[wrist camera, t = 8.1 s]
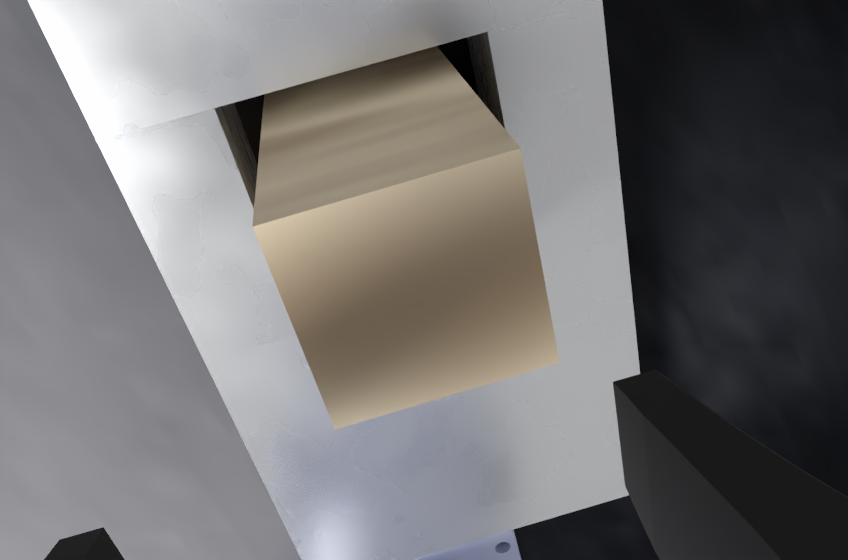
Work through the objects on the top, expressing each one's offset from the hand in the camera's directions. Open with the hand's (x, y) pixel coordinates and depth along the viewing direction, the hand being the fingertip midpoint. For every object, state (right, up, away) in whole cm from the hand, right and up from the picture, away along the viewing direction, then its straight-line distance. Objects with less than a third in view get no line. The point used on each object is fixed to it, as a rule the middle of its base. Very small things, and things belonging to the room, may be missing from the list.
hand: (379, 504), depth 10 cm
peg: (-1, +6, +7) cm, 10 cm away
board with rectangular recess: (0, +4, +8) cm, 9 cm away
